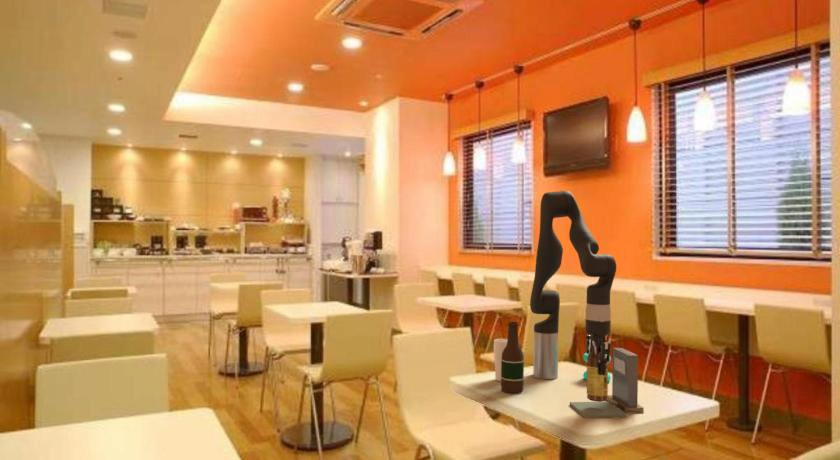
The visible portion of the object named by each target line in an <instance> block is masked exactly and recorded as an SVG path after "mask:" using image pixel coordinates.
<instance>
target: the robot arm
mask: <svg viewBox="0 0 840 460" xmlns="http://www.w3.org/2000/svg"><path fill="white" fill-rule="evenodd" d="M539 212H540V213H539V214H540V215H539V217H540V218H539V219H540V220H539V234H538V235H539V236H538V242H537V243H538V244H537V248H536V259H535V267H534V268H535V271H534V278H533V284H532V288H531V292H530V293H531V294H530V300H529V306H530V311H531V313H532V314H535V315H548V317H547V318H545V319H543V320H542V321H539V322H536V323H534V325H533V375H532V376H533V377H535V378H536V379H543V380H554V379H555V380H556V379H557V378H558V377H559V376H558V375H559V372H558V371H559V326H560V325H559V321H560V303H561V301H560V294H559V292H558V291H557V290H554V289H552V290H549V289H544V288H545V285H546V284H547V282H549V281H550V279H551V278H552V277H553V276H554V275H555V274H556V273H557V272H558V271H559V269H560V268H561V265H562V263H563V262H562V261H563V253H564V249H563V245H562V243H561V241H560V239H559V238H558V237H557V236H558V235H557V234H556V233H555V231H554V227H553V224H554V223H553V221H554V219H557V218H566V217H567V218H569V220H570V222H571V223H570V227H569V231H568V232H569V233H568V234H569V235H568V236H569V237H568V238H569V241H570V243H571V245H572V246H573V249H574V250H575V251H576V253H577V256H578V259H579V260H578V261H579V264H580V269H581V271H582V273H583V274H584V275H585V276H586V277H590V278H598V280H597V281H596V282H595V283H592V284H589V285H588V286H587V288H586V306H585V307H586V308H585V325H584V327H585V329H584V331H585V333H586V334H587V335H585V344H586V345H585V346H586V347H585V348H586V350H585V351H586V352H585V353H587V354H589V353H590V352H591V350H592V349H591V343H592V341H591V335H593V336H596V340H593V346H594V350H595V355H597V359H598V374H599V375H605V374H606V363H607V362H609V359H610V357H611V342H607V339H606V336H608V335H610V334H611V328H612V327H611V326H612V325H611V323H612V322H611V321H612V317H611V316H612V315H611V314H612V311H611V291H612V290H611V289H612V287H613V282H614V279H615V276H616V272H617V262H616V260H615V258H614V257H613V256H612V255H611V254H607V253H605V254H601V253H599V250H600V246H599V243H598V241H597V240H596V239H595V237H594V236H593V234H592V232H591V231H590V230H589V228H588V226H587V224H586V222H585V219H584V217H583V214H582V211H581V210H580V207H579V205H578V201H576V198H575V196H574V195H573V193H572V192H571V191H568V190H559V191H550V192H544V193H543V194H542V196H541V201H540V211H539ZM598 253H599V254H598ZM606 354H607V357H606ZM609 363H610V362H609Z"/></svg>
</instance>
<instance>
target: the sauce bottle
mask: <svg viewBox="0 0 840 460" xmlns="http://www.w3.org/2000/svg"><path fill="white" fill-rule="evenodd" d="M593 340H596V336H593V335H591V341H592V343H591V349H592V350H591V352H590V353H589V355H588V358H587V361H588V362H586V364H587V365H586V371H587V380H586V394H587V395H586V398H587V400H589V401H590V402H607V395H609V394H608V392H609V389H608V387H609V385H608V384H609V383H608V382H609V381H608V373H609V363H608V362H607V363H606V374H605V375H599V374H598V359H597V355H595V350H594V346H593Z"/></svg>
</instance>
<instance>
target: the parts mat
mask: <svg viewBox="0 0 840 460" xmlns="http://www.w3.org/2000/svg"><path fill="white" fill-rule="evenodd" d="M569 406H570V407H571V408H572V409H573V410H575V411H576V412H577V413H578V414H579V415H580V414H581V415H580V416H582V417H583V418H584V419H598V418H599V419H601V418H603V419H604V418H605V419H606V418H607V419H608V418H609V417H619V418H627V413H624V412H623V411H622V410H620V409H619V408H617V407H616V406H615V405H613V404H612V403H610V402H609V401H602V402H598V401H570V402H569ZM609 419H610V418H609Z"/></svg>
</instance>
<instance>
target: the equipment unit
mask: <svg viewBox="0 0 840 460" xmlns="http://www.w3.org/2000/svg"><path fill="white" fill-rule="evenodd" d="M638 374H639V355H638V354H636V353H634V352H631V351H630V350H628V349H625V348H624V347H623V348H622V347H612V376H611V379H612V380H611V381H612V382H611V383H612V384H611V385H612V386H611V387H612V388H611V392H612V393H611V394H610V395H609V394H608V395H607V400H606V402H610V403H612V404H613V405H614V406H616V407H617V408H619V409H620V410H621V411H623V412H624V413H626V414H627V413H629V414H630V413H631V414H632V413H633V414H634V413H636V414H637V413H644V407H643V406H642V405H640V404H638V397H639V396H638V392H639V390H638V389H639V386H638V383H639V382H638V381H639V379H638V378H639V375H638Z"/></svg>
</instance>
